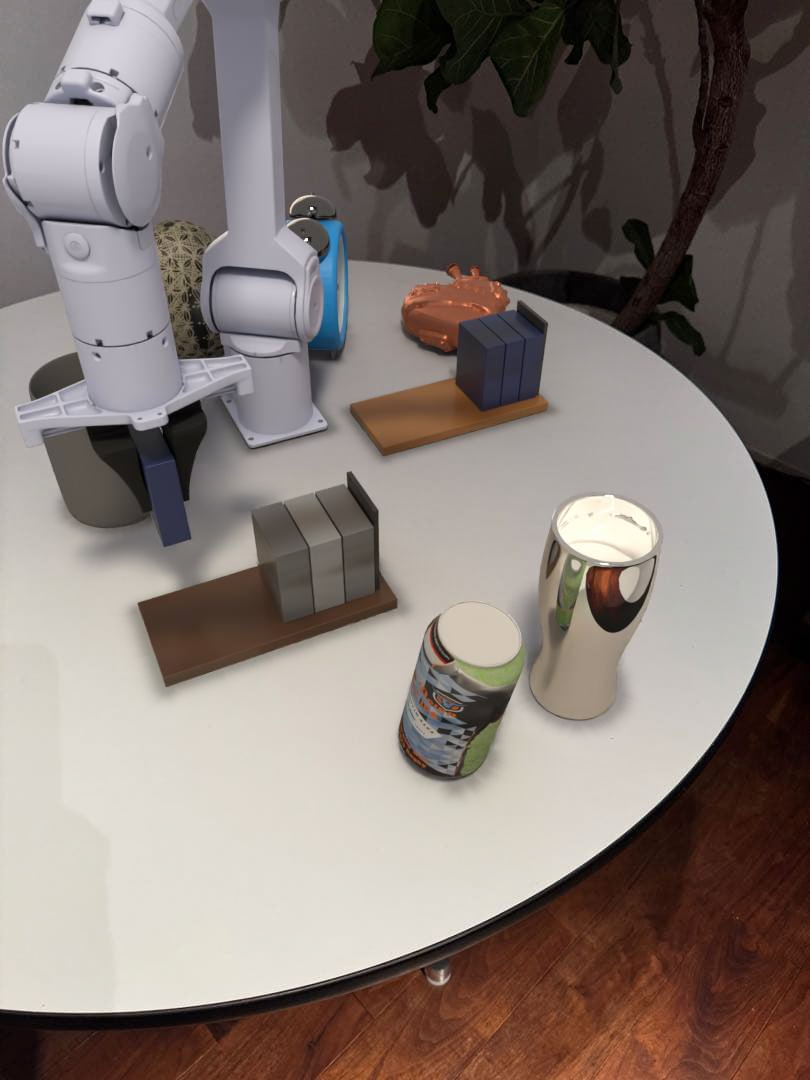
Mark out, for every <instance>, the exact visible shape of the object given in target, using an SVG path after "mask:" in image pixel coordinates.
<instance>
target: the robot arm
mask: <svg viewBox="0 0 810 1080" xmlns="http://www.w3.org/2000/svg"><path fill="white" fill-rule="evenodd" d="M283 1H284V0H201V2H202V3H203V5H204V6H205V8H206V9H207V11H208V13H209V14H210V16H211V20H212V21H211V24H212V25H211V26H212V35H213V36H212V37H213V49H214V63H215V75H216V89H217V91H216V92H217V102H218V103H217V104H218V118H219V130H220V141H221V157H222V170H223V184H224V185H223V186H224V195H225V207H226V208H225V210H226V211H225V212H226V222H227V230H226V231H225V232H224V233H222V234H220V236H218V237H217V239H216V240H214V241H213V242H212V243H211V244H210V245H209V246H208V248H207V249H206V251H205V253H204V255H203V259H202V265H203V279H202V285H201V294H200V302H201V311H202V315H203V318H204V321H205V322H206V324H207V325H208V327H209V329H210V330H211V331H212V332H214V333H220V339H221V344H222V345H223V347H224V354H225V355H224V356H223V357H222V358H206V359H183V360H178V357H177V352H176V346H175V341H174V336H173V330H172V325H171V320H170V315H169V310H168V304H167V299H166V294H165V289H164V284H163V278H162V273H161V268H160V263H159V258H158V253H157V247H156V242H155V237H154V232H153V222H152V220H153V218H154V216H155V214H156V211H157V209H158V208H159V206H160V203H161V196H162V189H163V188H162V187H163V160H164V156H165V153H166V151H165V146H166V140H165V138H164V136H163V133H162V128H163V125H164V123H165V120H166V118H167V115H168V112H169V110H170V107H171V104H172V101H173V99H174V96H175V93H176V91H177V89H178V85H179V82H180V80H181V77H182V75H183V73H184V69H185V64H186V63H185V61H186V58H185V51H184V47H183V43H182V41H181V38H180V36H179V35H178V33H177V32H178V30H179V28H180V27H181V25H182V23H183V21H184V19H185V17H186V15H187V14H188V13H189V10H190V8H191V6H192V4H193V2H194V0H91V1H90V3H89V4H88V5H87V6H86V8H85V10H84V12H83V15H82V16H81V19H80V21H79V23H78V25H77V28H76V30H75V32H74V34H73V36H72V39H71V41H70V43H69V46H68V47H67V50H66V52H65V54H64V57H63V58H62V61H61V63H60V65H59V67H58V70H57V72H56V74H55V76H54V78H53V81H52V83H51V85H50V88H49V89H48V91H47V94H46V96H45V98H44V99H43V101H42V102H40V101H33V102H32V103H27V104H26V105H25V106H24V107H23V108H22V109H21V111H20V112H17V113H16V114H14V115H13V116H12V117H11V118H10V119H9V121H8V123H7V124H6V126H5V128H4V129H5V130H4V133H3V137H2V145H1V146H2V147H1V148H2V150H1V153H2V165H3V171H4V177H2V184H3V188H4V190H5V193H6V195H7V197H8V199H9V201H10V203H11V205H12V206H13V207H14V209H15V210H16V211H17V212H18V213H19V215H20V216H22V217H23V218H24V219H25V220H26V222H27V224H28V225H29V227H30V229H31V232H32V236H33V239H34V242H35V246H36V248H39V250H40V251H41V252H42V253H44V254H45V255H47V256H49V258H50V260H51V263H52V268H53V271H54V275H55V278H56V281H57V285H58V288H59V289H58V290H59V292H60V296H61V299H62V303H63V308H64V310H65V313H66V317H67V321H68V324H69V328H70V332H71V334H72V339H73V342H74V345H75V348H76V349H75V350H76V352H77V353H78V357H79V360H80V364H81V367H82V371H83V374H84V378H85V379H84V380H82V381H80V382H77V383H75V384H73V385H70V386H68V387H66V388H63V389H61V390H59V391H56V392H54V393H52V394H49V395H47V396H45V397H42V398H40V399H37V400H34V401H31V400H30V401H27V402H24V403H21V404H16V405H14V406H13V410H14V414H15V419H16V421H17V426H18V428H19V430H20V433H21V437H22V439H23V442H24V444H25V447H26V448H27V449H30V448H34V447H38V446H42V445H43V444H44V442H45V441H44V438H47V437H51V436H55V435H59V434H63V433H67V432H71V431H75V430H80V429H84V428H86V431H87V434H88V437H89V439H90V442H91V445H92V448H93V450H94V451H95V453H96V454H97V455H98V456H99V458H100V459H101V460H102V461H103V462H105V463H106V464H107V465H108V466H109V467H111V468H112V469H113V470H114V471H115V472H116V473H117V474H118V475H119V476H120V477H121V479H122V480H123V481H124V482H125V483H126V485H127V486H128V487H129V489H130V490H131V492H132V493H133V495H134V496H135V498H136V500H137V501H138V504H139V506H140V509H141V512H142V513H146V512H150V511H152V508H151V503H150V499H149V496H148V493H147V491H146V488H145V485H144V483H143V479H142V476H141V471H140V466H139V461H138V456H137V450H136V446H135V444H134V442H133V439H132V437H131V435H130V431H129V428H128V425H127V424H132V425H133V426H134V428H135V429H136V430H139V431H143V430H148V429H152V428H156V427H160V429H161V431H162V433H163V436H164V438H165V440H166V442H167V444H168V446H169V448H170V450H171V453H172V455H173V457H174V459H175V462H176V467H177V472H178V476H179V481H180V486H181V490H182V495H183V500H184V503H185V502H189V501H190V500H191V499H190V498H191V497H190V489H191V480H192V479H191V478H192V473H193V467H194V464H195V460H196V456H197V454H198V451H199V450H200V449H199V448H200V446H201V444H202V442H203V440H204V438H205V437H206V435H207V431H208V419H207V415H206V413H205V411H204V409H203V407H202V402H201V401H202V400H207V399H211V398H215V397H219V396H220V398H221V402H222V403H223V405H224V408H225V409H226V411H227V412H228V414H229V416H230V418H231V419H232V421H233V423H234V425H235V426H236V428H237V430H238V432H239V433H240V435H241V436H242V438H243V440H244V441H245V443H246V445H247V447H248V448H250V449H256V448H259V447H263V446H267V445H270V444H271V445H272V444H274V443H278V442H282V441H287V440H290V439H293V438H298V437H302V436H305V435H309V434H313V433H317V432H320V431H324V430H326V429H328V427H329V424H328V422H327V420H326V419H325V417H324V416H323V415H322V412H321V411H320V410H319V409H318V408H317V406H316V405H315V403H314V402H313V398H312V397H313V396H312V385H311V371H310V358H309V349H308V343H307V342H311V341H312V340H313V338H314V337H315V336H316V335H317V334H318V332H319V330H320V327H321V323H322V318H323V310H324V289H323V283H322V280H321V277H320V267H319V258H318V257H317V251H316V250H315V249H314V248H313V247H311V246H310V245H309V244H308V243H306V242H305V241H304V240H302V239H301V238H300V237H299V236H297V235H296V234H295V233H294V232H292V231H291V230H290V229H289V228H288V227H287V226H286V223H285V221H286V202H285V201H286V200H285V199H286V197H285V175H284V174H285V173H284V149H283V146H284V145H283V123H282V100H281V99H282V96H281V74H280V69H281V68H280V50H279V49H280V47H279V46H280V45H279V20H280V19H279V18H280V5H281V4H280V3H282V2H283Z"/></svg>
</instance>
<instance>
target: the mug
mask: <svg viewBox="0 0 810 1080" xmlns="http://www.w3.org/2000/svg"><path fill="white" fill-rule="evenodd" d="M84 379H85V378H84V374H83V371H82V367H81V364H80V360H79V357H78V353H77V351H74V352H71V353H67V354H63V355H61V356H58V357H56V358H53V359H52V360H50V361H48V362H46V363H44V364H43V365H41V366H40V367H39V368H38V369H36V371H35V372H34V373H33V374H32V375H31V377H30V379H29V382H28V393H29V399H30V402H31V401H34V400H37V399H40V398H42V397H45V396H47V395H49V394H52V393H54V392H56V391H59V390H61V389H63V388H66V387H68V386H70V385H73V384H75V383H77V382H80V381H82V380H84ZM44 441H45V442H44V443H43V444H44V447H45V450H46V453H47V457H48V460H49V462H50V465H51V467H52V468H51V469H52V472H53V474H54V477H55V480H56V483H57V485H58V488H59V492H60V494H61V496H62V499H63V502H64V504H65V506H66V508H67V510H68V511H69V513H70V514H71V515H72V516H73V517H74V518H75V519H76V520H78V521H79V522H80V523H83V524H85V525H88V526H92V527H98V528H99V527H100V528H118V527H123V526H129V525H132V524H135V523H137V522H141V521H143V520H145V519H147V518H149V517H151V515H150V513H149V512H146V513H142V512H141V509H140V506H139V504H138V501H137V500H136V498H135V496H134V495H133V493H132V492H131V490H130V489H129V487H128V486H127V485H126V483H125V482H124V481H123V480H122V479H121V477H120V476H119V475H118V474H117V473H116V472H115V471H114V470H113V469H112V468H111V467H109V466H108V465H107V464H106V463H105V462H103V461H102V460H101V459H100V458H99V456H98V455H97V454H96V453H95V451H94V450H93V448H92V445H91V442H90V439H89V437H88V434H87V431H86V428H84V429H80V430H75V431H71V432H67V433H63V434H59V435H55V436H51V437H47V438H44Z"/></svg>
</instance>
